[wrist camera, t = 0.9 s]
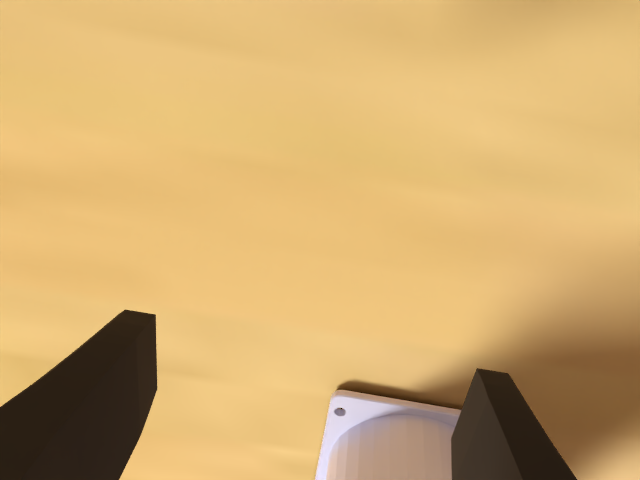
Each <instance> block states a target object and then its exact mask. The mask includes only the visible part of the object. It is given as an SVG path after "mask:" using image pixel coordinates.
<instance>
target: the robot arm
mask: <svg viewBox="0 0 640 480" xmlns="http://www.w3.org/2000/svg"><path fill="white" fill-rule="evenodd" d="M156 391H157V359H156V315H154V314H148V313H142V312H136V311H130V310H124V311H123V312H121V313H120V314H118V315H117V316H116V317H115V318H114V319H112V320H111V321H110V322H109V323H108V324H107V325H105V326H104V327H103V328H102V329H101V330H99V331H98V332H97V333H96V334H95V335H93V336H92V337H91V338H90V339H89V340H87V341H86V342H85V343H84V344H83V345H81V346H80V347H79V348H78V349H77V350H75V351H74V352H73V353H72V354H70V355H69V356H68V357H67V358H65V359H64V360H63V361H62V362H60V363H59V364H58V365H56V366H55V367H54V368H53V369H51V370H50V371H49V372H47V373H46V374H45V375H44V376H42V377H41V378H40V379H38V380H37V381H36V382H34V383H33V384H32V385H30V386H29V387H28V388H26V389H25V390H23V391H22V392H21V393H19V394H18V395H16V396H15V397H14V398H12V399H11V400H9V401H8V402H7V403H5V404H4V405H2V406H1V407H0V480H119V478H120V476H121V474H122V472H123V470H124V468H125V466H126V464H127V462H128V460H129V458H130V456H131V454H132V452H133V450H134V448H135V446H136V444H137V442H138V440H139V438H140V436H141V433H142V430H143V427H144V425H145V422H146V419H147V417H148V414H149V411H150V408H151V405H152V402H153V399H154V396H155V393H156ZM337 408H343V409H337ZM315 480H577V479H576V477H575V476H574V474H573V473H572V471H571V470H570V468H569V467H568V466H567V464H566V463H565V461H564V460H563V458H562V457H561V455H560V454H559V452H558V451H557V449H556V448H555V446H554V445H553V443H552V442H551V440H550V439H549V437H548V436H547V434H546V433H545V431H544V430H543V428H542V426H541V425H540V423H539V422H538V420H537V419H536V417H535V415H534V414H533V412H532V411H531V409H530V407H529V406H528V404H527V403H526V401H525V399H524V398H523V396H522V395H521V393H520V391H519V390H518V388H517V387H516V385H515V383H514V382H513V380H512V379H511V377H510V376H509V374H508V373H502V372H496V371H490V370H484V369H478V368H477V369H476V372H475V375H474V378H473V380H472V383H471V386H470V388H469V391H468V394H467V397H466V399H465V402H464V405H463V407H462V410H459V409H453V408H447V407H441V406H435V405H429V404H423V403H418V402H412V401H406V400H400V399H394V398H388V397H382V396H377V395H371V394H365V393H359V392H353V391H347V390H337V391H335V392H334V393H332V396H331V400H330V405H329V410H328V415H327V420H326V425H325V430H324V435H323V440H322V445H321V450H320V455H319V461H318V466H317V471H316V476H315Z"/></svg>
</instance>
